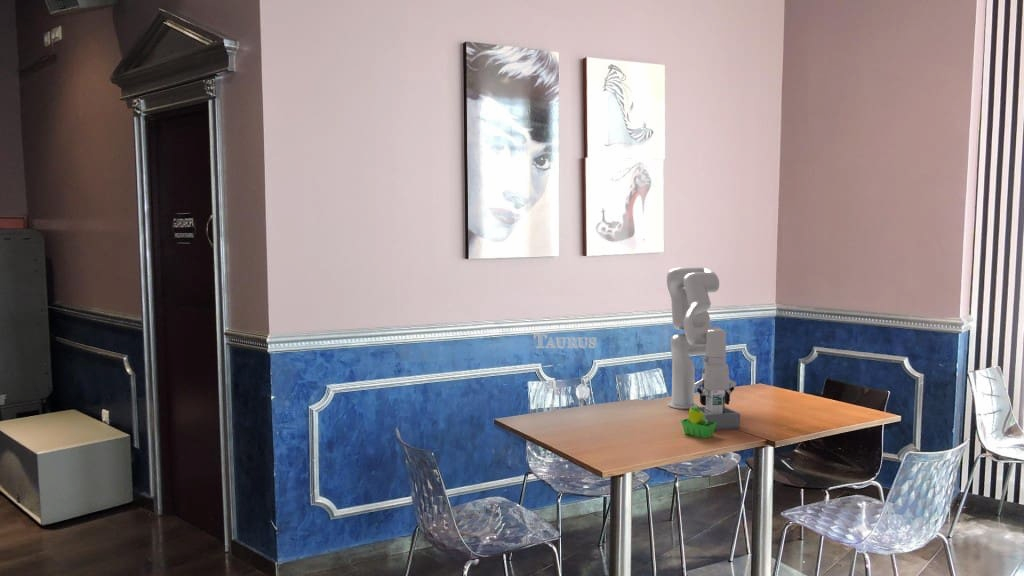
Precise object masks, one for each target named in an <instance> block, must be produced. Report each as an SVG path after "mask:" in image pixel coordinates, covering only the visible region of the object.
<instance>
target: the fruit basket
mask: <svg viewBox="0 0 1024 576" xmlns="http://www.w3.org/2000/svg"><path fill="white" fill-rule="evenodd" d="M688 410H689V411H688V418H685V419H681V420H680V423H681V424H682V429H683V432H684V434H685V435H688V434H690V435H689V436H692V435H694V436H693V437H697V436H698V437H697V438H703V439H707V437H708V438H710V437H713V436H714V435H713V434H714V432H715V430H714V429H715V426H716V424H717V423H716V422H712V421H707V420H706V419H705V420H703V416H704V414H703V413H702V412H701V411H700V410H699V409H698V408H697V407H696V406H694V407H692V408H691V409H688Z"/></svg>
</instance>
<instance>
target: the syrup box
mask: <svg viewBox="0 0 1024 576" xmlns="http://www.w3.org/2000/svg"><path fill="white" fill-rule="evenodd" d="M705 395H706V405H705V406H704V407H705V414H725V407H726V404H725V390H712V391H707V392H706V393H705Z"/></svg>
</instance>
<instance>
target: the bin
mask: <svg viewBox="0 0 1024 576" xmlns="http://www.w3.org/2000/svg"><path fill="white" fill-rule="evenodd" d="M691 408H692V407H690V409H691ZM697 408H698V409H699V410H700V411H701V412H702V413H703V414H704V416H703V420H705V419H706V420H707V421H712V422H716V423H717V424H716V426H715V429H714V431H724V430H739V429H741V425H740V423H741V421H740V420H741V413H740V412H738V411H736V410H734V409H731V408H729V407H727V406H725V414H705V406H698V407H697ZM690 409H689V410H690Z"/></svg>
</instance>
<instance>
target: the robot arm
mask: <svg viewBox="0 0 1024 576" xmlns="http://www.w3.org/2000/svg"><path fill="white" fill-rule="evenodd" d="M666 274H667V275H666V286H667V290H668V292H669V297H670V300H671V316H672V325H673V327H674V329H675V330H678V331H684V333H677V334H674V335H673V336H672V337H671V338H670V341H669V343H670V344H669V345H670V352H671V400H670V401H668V403H667V406H668V407H669V408H673V409H681V410H690V407H694V406H696V407H699V406H698V405H699V403H697V402H695V390H696V392H697V393H698V394H699V402H700V405H702V406H703V407H705V405H706V395H705V393H706V392H707V391H712V390H725V405H730V401H731V397H730V396H731V394H732V392H733V391H735V388H736V386H737V382H736V381H735V380H732V379H731V378H730V371H729V365H728V364H727V363H726V361H727V359H726V357H727V356H726V353H727V351H726V349H727V346H726V345H727V332H726V330H724V329H723V328H721V327H719V326H717V325H716V326H714V325H711V317H710V314H709V312H708V309H709V308H710V307H711V304H712V302H711V299H710V296H709V295H710V294H709V293H716V292H718V291H719V288H720V279H719V277H718V275H717V274H716V273H715V272H714V271H713V270H711V269H708V268H706V267H685V266H684V267H683V266H682V267H675V268H671V269H669V271H668V272H667V273H666ZM690 356H704V357H703V358H702V362H704V364H703V367H702V374H701V379H700V380H697V382H696V381H695V373H696V371H695V370H696V369H695V367H696V366H695V364H694V361H692V359H691V358H690ZM700 385H701V388H700Z"/></svg>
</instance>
